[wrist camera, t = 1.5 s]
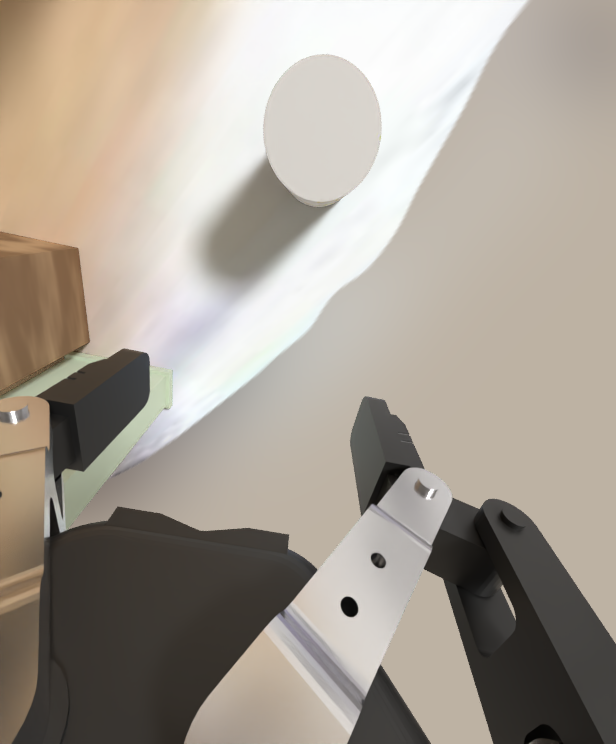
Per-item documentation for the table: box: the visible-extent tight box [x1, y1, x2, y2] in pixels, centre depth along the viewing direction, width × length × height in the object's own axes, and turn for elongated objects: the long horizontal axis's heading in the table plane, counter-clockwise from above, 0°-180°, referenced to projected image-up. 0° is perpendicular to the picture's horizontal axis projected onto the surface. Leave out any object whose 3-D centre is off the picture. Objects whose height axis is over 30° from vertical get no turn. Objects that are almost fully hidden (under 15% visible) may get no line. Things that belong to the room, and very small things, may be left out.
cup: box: [263, 54, 381, 207], centre depth 26 cm, size 8×8×12 cm
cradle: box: [0, 351, 173, 530], centre depth 34 cm, size 14×6×22 cm, turn 78°
